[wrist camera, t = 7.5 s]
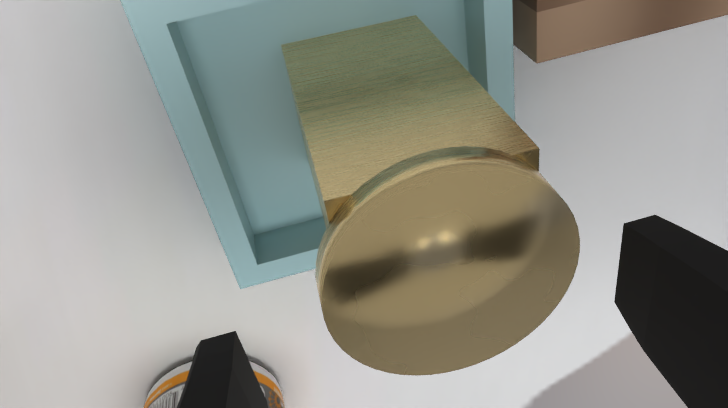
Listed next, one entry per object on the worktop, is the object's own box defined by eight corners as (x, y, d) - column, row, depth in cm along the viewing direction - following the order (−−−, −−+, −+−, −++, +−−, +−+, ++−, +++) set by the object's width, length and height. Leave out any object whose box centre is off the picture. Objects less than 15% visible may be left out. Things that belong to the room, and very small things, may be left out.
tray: (480, -105, 16) (510, -94, 14) (493, 182, 22) (516, 213, 20) (129, -23, 15) (119, -2, 14) (238, 251, 21) (240, 288, 19)
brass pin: (431, -6, 17) (589, 139, 10) (442, 144, 20) (571, 339, 13) (258, 31, 16) (295, 211, 9) (296, 178, 19) (346, 400, 12)
